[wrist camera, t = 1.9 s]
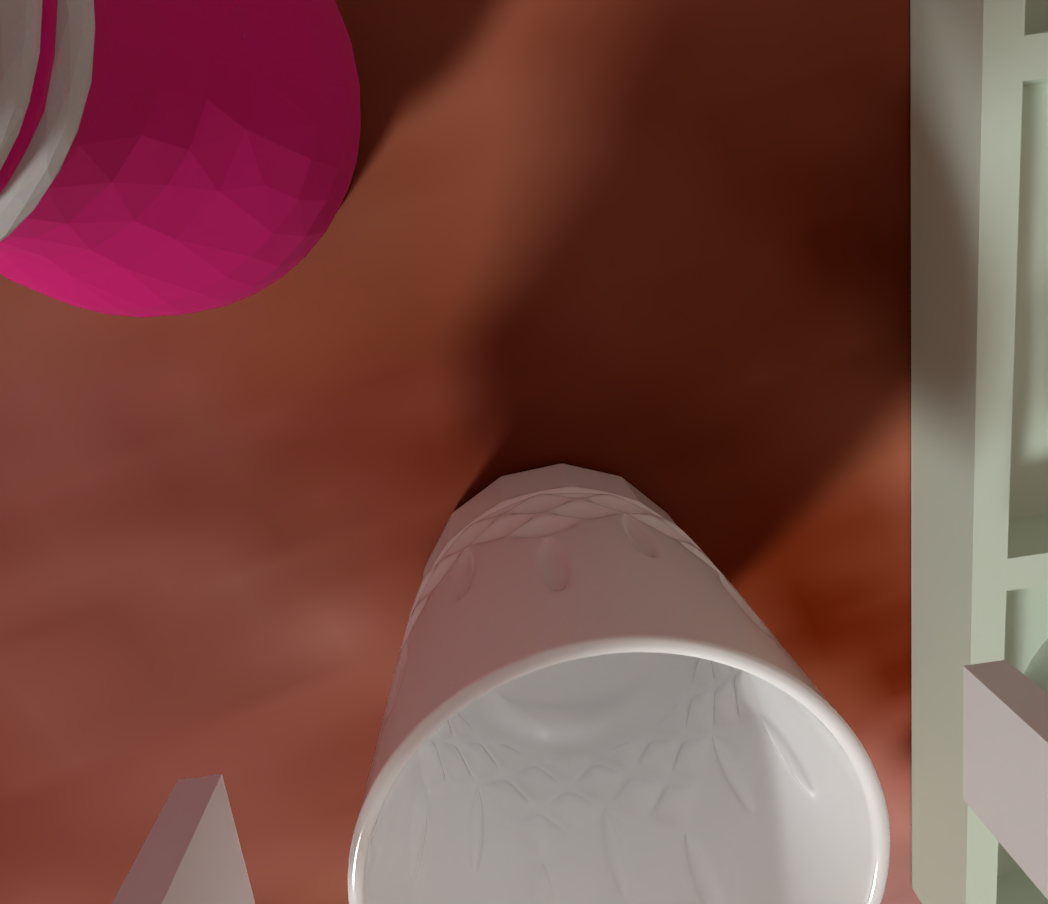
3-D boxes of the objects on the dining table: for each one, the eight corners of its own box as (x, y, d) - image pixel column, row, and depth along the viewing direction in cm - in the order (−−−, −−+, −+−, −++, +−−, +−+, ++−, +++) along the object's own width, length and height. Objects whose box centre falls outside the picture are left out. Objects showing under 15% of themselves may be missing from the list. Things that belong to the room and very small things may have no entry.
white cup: (684, 408, 21) (866, 581, 11) (728, 689, 23) (912, 1031, 14) (366, 477, 21) (279, 709, 11) (441, 750, 23) (421, 1138, 14)
